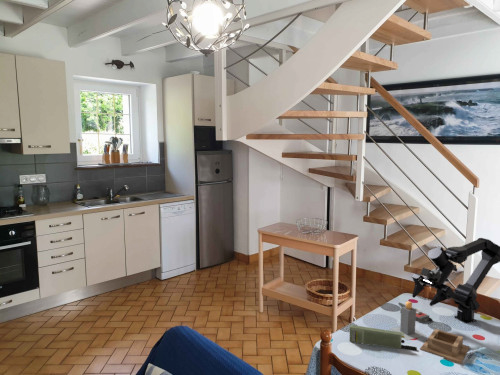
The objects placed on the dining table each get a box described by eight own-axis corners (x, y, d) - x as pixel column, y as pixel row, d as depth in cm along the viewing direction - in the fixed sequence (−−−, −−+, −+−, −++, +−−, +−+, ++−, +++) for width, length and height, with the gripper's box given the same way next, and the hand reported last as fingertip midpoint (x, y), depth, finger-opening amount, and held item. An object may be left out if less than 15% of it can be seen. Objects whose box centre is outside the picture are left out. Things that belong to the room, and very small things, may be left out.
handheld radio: (349, 338, 156) (416, 349, 148) (349, 343, 153) (416, 354, 145) (350, 323, 155) (417, 333, 147) (349, 327, 152) (417, 337, 144)
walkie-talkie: (435, 321, 172) (400, 305, 189) (436, 312, 171) (400, 296, 189) (422, 326, 168) (387, 308, 186) (422, 316, 167) (387, 300, 185)
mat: (407, 326, 167) (407, 324, 167) (425, 336, 158) (426, 335, 158) (389, 330, 163) (389, 329, 163) (407, 341, 154) (407, 340, 154)
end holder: (430, 337, 157) (431, 325, 157) (469, 348, 148) (470, 336, 148) (420, 350, 147) (420, 338, 146) (460, 364, 138) (461, 351, 137)
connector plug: (407, 329, 163) (409, 300, 161) (414, 333, 159) (416, 303, 158) (400, 330, 161) (401, 301, 160) (407, 335, 158) (408, 305, 156)
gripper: (415, 255, 170) (395, 282, 167) (452, 267, 153) (429, 298, 150) (428, 270, 174) (408, 297, 171) (464, 284, 157) (443, 314, 154)
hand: (421, 301), depth 162 cm, fingers open, 9 cm apart
